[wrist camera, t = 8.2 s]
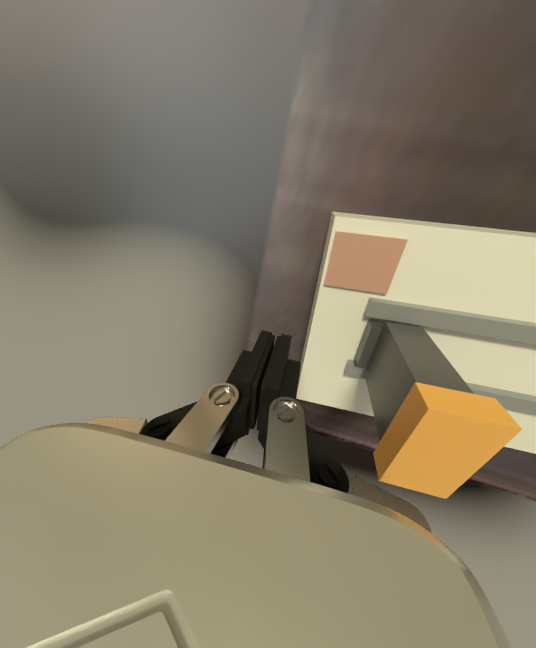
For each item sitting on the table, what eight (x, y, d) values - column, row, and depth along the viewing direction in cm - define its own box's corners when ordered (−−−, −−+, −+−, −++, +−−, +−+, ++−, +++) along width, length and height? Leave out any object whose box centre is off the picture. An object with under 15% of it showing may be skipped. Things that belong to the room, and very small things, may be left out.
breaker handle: (429, 316, 13) (533, 431, 6) (399, 374, 15) (454, 501, 9) (372, 307, 13) (418, 406, 7) (351, 365, 16) (371, 478, 9)
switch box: (719, 252, 13) (959, 284, 8) (543, 411, 20) (613, 478, 15) (331, 211, 16) (335, 216, 11) (300, 361, 23) (294, 404, 18)
